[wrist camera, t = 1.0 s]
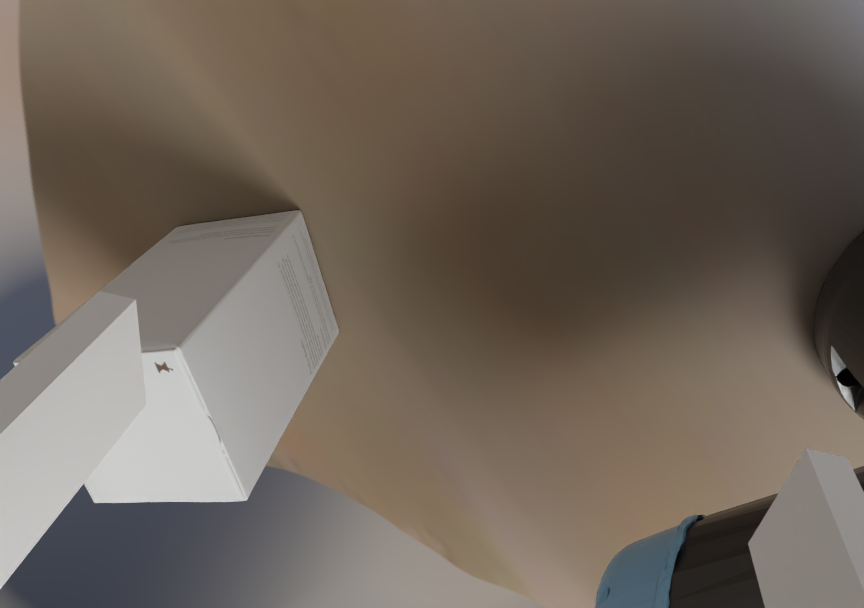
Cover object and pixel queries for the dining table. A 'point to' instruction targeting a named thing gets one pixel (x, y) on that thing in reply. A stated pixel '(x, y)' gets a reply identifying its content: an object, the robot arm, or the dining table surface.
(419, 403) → the dining table surface
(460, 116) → the dining table surface
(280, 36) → the dining table surface
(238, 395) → the supplement box
